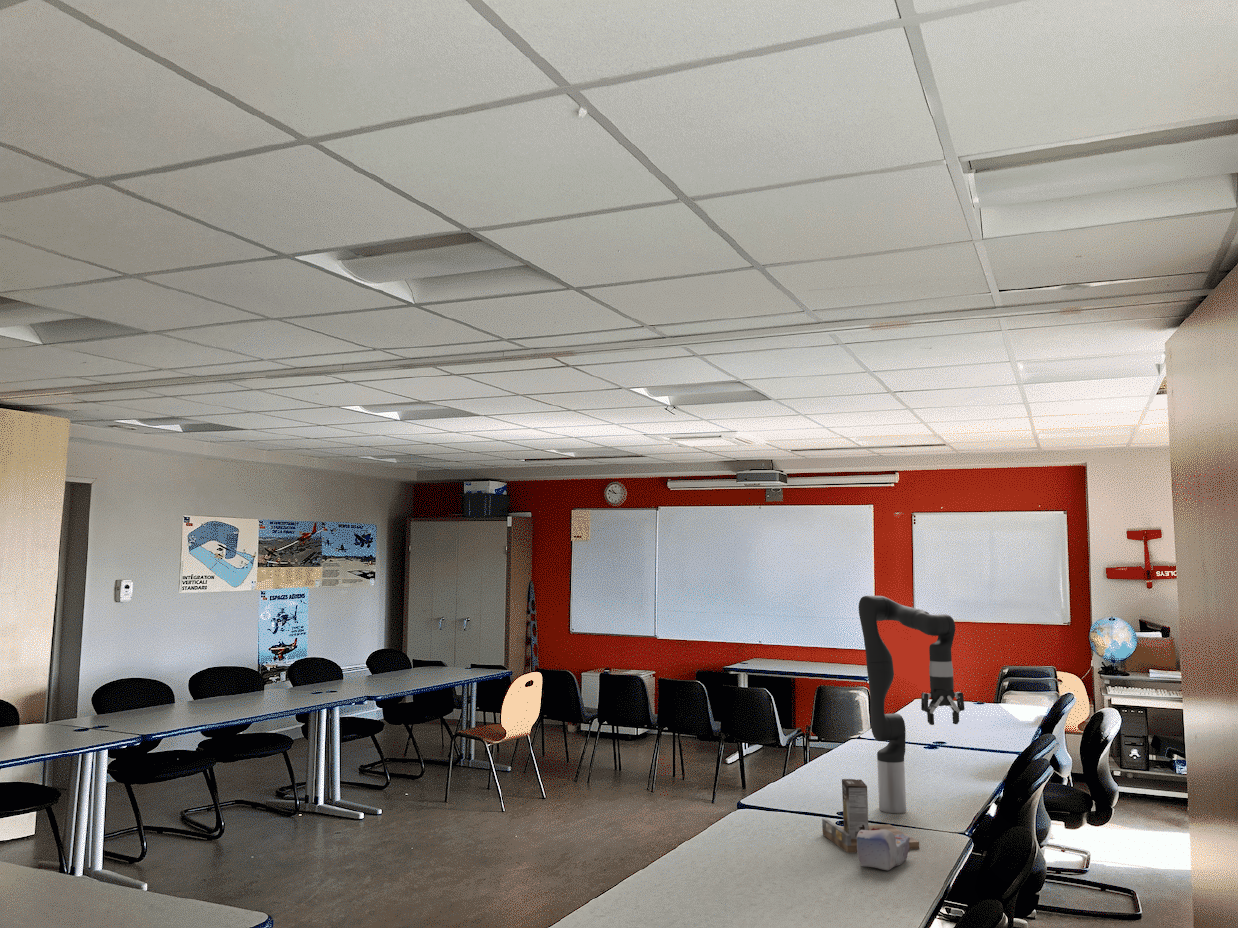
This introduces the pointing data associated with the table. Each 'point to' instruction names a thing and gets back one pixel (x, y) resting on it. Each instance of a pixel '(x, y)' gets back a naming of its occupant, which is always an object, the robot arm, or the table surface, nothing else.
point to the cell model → (881, 848)
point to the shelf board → (850, 845)
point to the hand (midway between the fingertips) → (943, 724)
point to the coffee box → (854, 806)
